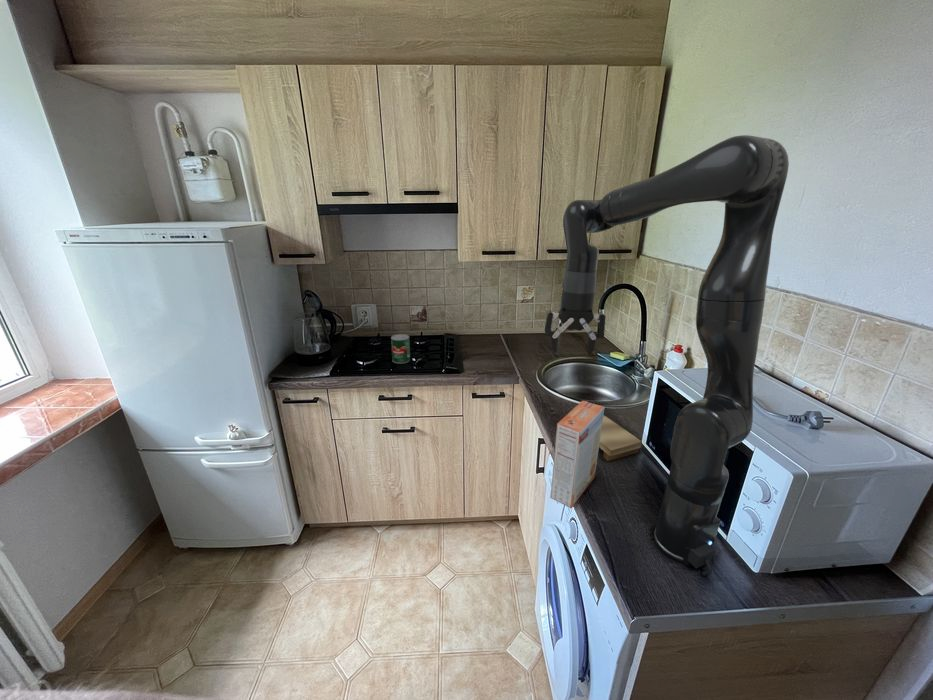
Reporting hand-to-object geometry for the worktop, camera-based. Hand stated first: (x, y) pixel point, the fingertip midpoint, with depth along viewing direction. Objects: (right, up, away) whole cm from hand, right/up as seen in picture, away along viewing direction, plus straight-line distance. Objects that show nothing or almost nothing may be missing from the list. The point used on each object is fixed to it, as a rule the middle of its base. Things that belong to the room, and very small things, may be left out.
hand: (571, 352), depth 97 cm
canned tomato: (-56, -4, +72) cm, 91 cm away
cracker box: (-1, -34, -3) cm, 34 cm away
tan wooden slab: (+14, -27, +15) cm, 34 cm away
